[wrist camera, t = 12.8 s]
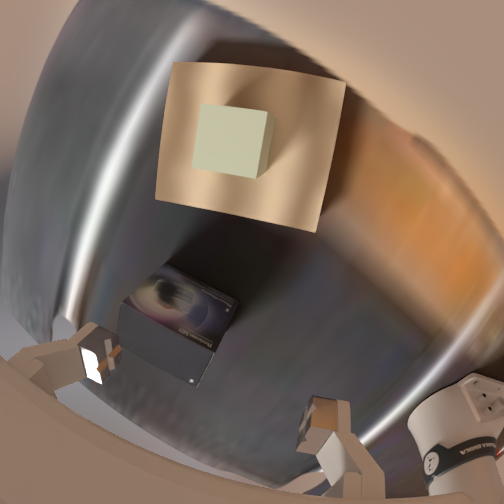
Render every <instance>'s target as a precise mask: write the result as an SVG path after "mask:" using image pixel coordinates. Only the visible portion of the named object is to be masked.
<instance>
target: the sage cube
mask: <svg viewBox="0 0 504 504" xmlns="http://www.w3.org/2000/svg"><path fill="white" fill-rule="evenodd" d="M275 118H276V117H275V116H273V115H272V114H270V113H269V112H266V111H260V110H253V109H246V108H238V107H229V106H220V105H210V104H201V106H200V113H199V119H198V125H197V132H196V139H195V146H194V154H193V161H192V168H195V169H201V170H208V171H214V172H220V173H226V174H231V175H237V176H242V177H248V178H253V179H257V178H258V177H260V176H261V175H262V174H264V173H265V172H266V169H267V163H268V158H269V152H270V146H271V141H272V135H273V130H274V124H275Z"/></svg>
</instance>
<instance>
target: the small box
mask: <svg viewBox="0 0 504 504" xmlns="http://www.w3.org/2000/svg"><path fill="white" fill-rule="evenodd" d="M238 303H239V300H237V299H235V298H233V297H231V296H229V295H227V294H225V293H223V292H221V291H219V290H217V289H215V288H213V287H211V286H209V285H207V284H205V283H203V282H201V281H199V280H197V279H195V278H193V277H191V276H190V275H188V274H186V273H184V272H182V271H180V270H178V269H176V268H174V267H173V266H171V265H169V264H167V263H165V264H164V265H163V266H162V267H161V268H159V269H158V270H157V271H156V272H155V273H154V274H153V275H152V276H150V277H149V278H148V279H147V280H146V281H145V282H144V283H143V284H142V285H140V286H139V287H138V288H137V289H136V290H135V291H134V292H133V293H131V294H130V295H129V296H128V297H127V298H126V299H125V300H124V301H122V302H121V305H120V310H119V316H118V321H117V328H116V334H118V335H119V336H120V343H119V345H120V346H122V347H124V348H125V349H127V350H129V351H130V352H132V353H134V354H135V355H137V356H139V357H140V358H142V359H144V360H146V361H147V362H149V363H151V364H153V365H154V366H156V367H158V368H160V369H162V370H164V371H165V372H167V373H169V374H171V375H173V376H175V377H177V378H179V379H181V380H183V381H184V382H186V383H188V384H190V385H193V386H195V387H198V386H199V384H200V382H201V380H202V378H203V376H204V374H205V372H206V370H207V368H208V366H209V364H210V362H211V361H212V358H213V357H214V355H215V352H216V350H217V348H218V346H219V344H220V342H221V340H222V338H223V336H224V334H225V331H226V329H227V327H228V325H229V323H230V321H231V319H232V316H233V314H234V313H235V311H236V309H237V306H238Z"/></svg>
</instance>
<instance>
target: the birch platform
mask: <svg viewBox="0 0 504 504" xmlns="http://www.w3.org/2000/svg"><path fill="white" fill-rule="evenodd" d="M345 87H346V82H343V81H338V80H334V79H330V78H325V77H320V76H316V75H311V74H305V73H300V72H294V71H288V70H281V69H274V68H266V67H258V66H249V65H238V64H224V63H203V62H173V66H172V71H171V77H170V82H169V88H168V94H167V100H166V107H165V113H164V120H163V128H162V135H161V144H160V152H159V162H158V172H157V183H156V196H155V199H157V200H162V201H167V202H173V203H178V204H183V205H188V206H193V207H198V208H203V209H208V210H213V211H218V212H223V213H228V214H233V215H238V216H243V217H247V218H252V219H257V220H261V221H266V222H270V223H275V224H280V225H284V226H289V227H293V228H297V229H302V230H306V231H311V232H316V228H317V224H318V220H319V215H320V211H321V207H322V203H323V198H324V194H325V189H326V185H327V180H328V176H329V171H330V167H331V162H332V157H333V152H334V147H335V142H336V137H337V132H338V127H339V121H340V116H341V110H342V105H343V99H344V93H345ZM201 104H210V105H220V106H229V107H238V108H246V109H253V110H260V111H266V112H269V113H270V114H272V115H273V116H275V117H276V118H275V124H274V130H273V135H272V141H271V146H270V152H269V158H268V163H267V169H266V172H265V173H264V174H262V175H261V176H260V177H258V178H257V179H253V178H248V177H242V176H237V175H231V174H226V173H220V172H214V171H208V170H201V169H195V168H192V161H193V154H194V146H195V139H196V132H197V125H198V119H199V113H200V106H201Z"/></svg>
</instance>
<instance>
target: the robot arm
mask: <svg viewBox="0 0 504 504" xmlns="http://www.w3.org/2000/svg"><path fill="white" fill-rule="evenodd" d="M119 343H120V336H119V335H118V334H116V333H114V332H111V331H109V330H107V329H105V328H103V327H101V326H99V325H97V324H95V323H93V322H89V323H87V324H86V325H85V326H84V327H82V328H81V329H80V330H79V331H78V332H77V333H76V334H74V335H73V336H72V337H71V338H70V339H68V340H67V339H62V340H58V341H53V342H49V343H44V344H39V345H35V346H30V347H25V348H23V349H21V350H20V351H19V352H18V353H17V354H15V355H14V356H13V357H12V358H11V359H9V360H8V361H5V360H4V359H3V358H2V357H1V356H0V504H504V486H503V484H502V481H501V478H500V475H499V472H498V469H497V466H496V462H495V459H496V458H497V457H498V456H499V455H501V454H502V453H503V451H502V452H501V453H499V452H500V450H501V449H502V448H500V449H498V450H497V451H496V439H497V438H498V436H499V434H500V433H501V431H502V429H503V428H504V382H501V381H498V380H495V379H492V378H489V377H486V376H483V375H480V374H477V373H471V374H469V375H468V376H466V377H465V378H463V379H462V380H460V381H459V382H458V383H456V384H454V385H452V386H449V387H447V388H445V389H442V390H440V391H438V392H437V393H435V394H433V395H432V396H430V397H429V398H427V399H426V400H424V401H423V402H422V403H421V404H420V405H419V406H418V407H417V408H416V409H415V410H414V411H413V412H412V414H411V415H410V417H409V420H408V428H409V430H410V431H411V433H412V435H413V437H414V439H415V441H416V443H417V446H418V448H419V451H420V454H421V457H422V460H423V475H424V481H425V486H426V489H427V490H428V491H429V496H424V497H414V498H398V499H385V480H384V472H383V471H382V470H381V468H380V467H379V466H378V465H377V463H376V462H375V461H374V459H373V458H372V457H371V455H370V454H369V453H368V451H367V450H366V449H365V447H364V446H363V445H362V443H361V442H360V441H359V439H358V438H357V437H356V435H355V434H353V433H351V424H350V403H349V402H348V401H342V400H336V399H330V398H324V397H319V396H313V395H312V396H311V397H310V399H309V401H308V407H306V408H305V409H304V411H303V414H302V417H301V420H300V424H299V430H300V432H301V433H300V434H299V436H298V438H297V445H296V451H299V452H304V453H309V454H315V455H316V457H317V459H318V461H319V463H320V465H321V467H322V469H323V471H324V473H325V475H326V477H327V479H328V481H329V483H330V485H331V488H330V489H328V490H327V491H326V492H325V493H324V494H323V495H322V496H312V495H304V494H296V493H290V492H284V491H279V490H273V489H268V488H263V487H259V486H254V485H250V484H245V483H242V482H237V481H234V480H230V479H226V478H223V477H219V476H216V475H213V474H209V473H206V472H203V471H200V470H197V469H194V468H191V467H188V466H186V465H183V464H180V463H178V462H175V461H172V460H170V459H167V458H165V457H162V456H160V455H157V454H155V453H153V452H150V451H148V450H146V449H144V448H141V447H139V446H137V445H135V444H133V443H131V442H129V441H127V440H125V439H123V438H120V437H119V436H116V435H115V434H113V433H111V432H109V431H107V430H105V429H103V428H102V427H100V426H98V425H96V424H94V423H93V422H91V421H89V420H88V419H86V418H84V417H82V416H81V415H79V414H77V413H76V412H74V411H73V410H71V409H70V408H68V407H66V406H65V405H63V404H62V403H60V402H59V401H57V398H56V395H55V393H54V390H57V389H59V388H62V387H64V386H66V385H69V384H71V383H74V382H76V381H79V380H81V379H84V378H86V376H87V377H89V378H91V379H93V380H95V381H97V382H99V383H101V384H102V383H103V382H104V381H105V380H106V379H107V378H108V376H109V375H110V370H112V369H115V368H116V367H117V366H118V365H119V363H120V360H121V356H122V351H121V348H120V347H119V345H118V344H119ZM498 453H499V454H498ZM497 454H498V455H497Z"/></svg>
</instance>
